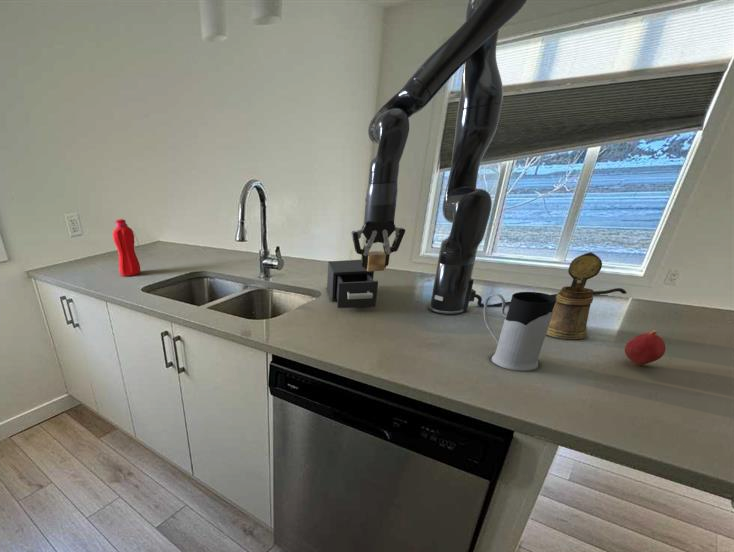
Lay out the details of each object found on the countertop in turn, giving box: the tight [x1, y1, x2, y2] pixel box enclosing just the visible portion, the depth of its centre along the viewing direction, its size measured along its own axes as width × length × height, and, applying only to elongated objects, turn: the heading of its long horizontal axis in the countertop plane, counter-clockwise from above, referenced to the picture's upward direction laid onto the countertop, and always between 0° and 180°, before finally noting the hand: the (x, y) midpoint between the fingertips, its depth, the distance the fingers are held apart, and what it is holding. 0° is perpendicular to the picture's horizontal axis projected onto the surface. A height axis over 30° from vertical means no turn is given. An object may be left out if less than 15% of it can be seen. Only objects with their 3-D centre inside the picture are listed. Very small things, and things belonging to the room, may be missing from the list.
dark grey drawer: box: [335, 274, 379, 309], centre depth 129 cm, size 19×12×8 cm, turn 173°
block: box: [366, 250, 386, 272], centre depth 111 cm, size 4×4×4 cm
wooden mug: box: [546, 251, 603, 340], centre depth 98 cm, size 9×14×18 cm, turn 139°
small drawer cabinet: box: [326, 259, 375, 302], centre depth 140 cm, size 16×13×10 cm
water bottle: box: [112, 218, 141, 277], centre depth 189 cm, size 9×11×25 cm
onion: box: [624, 329, 666, 367], centre depth 83 cm, size 6×6×8 cm
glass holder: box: [483, 291, 557, 372], centre depth 89 cm, size 9×14×15 cm, turn 24°
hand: (374, 267), depth 112 cm, fingers closed on block, 4 cm apart
